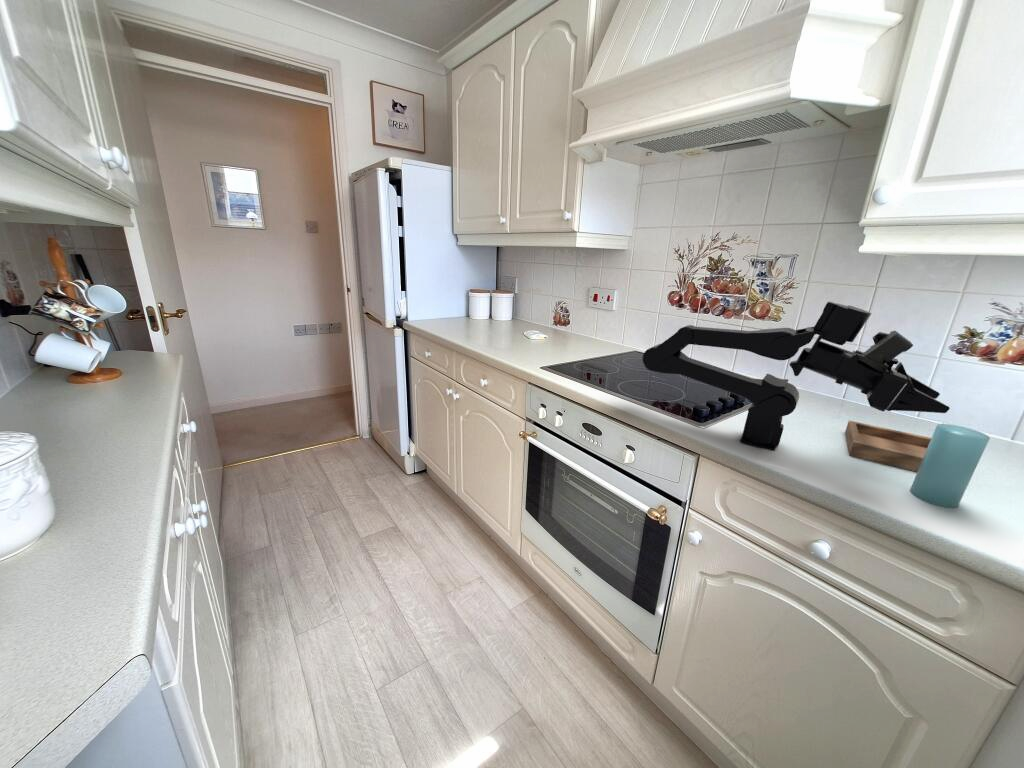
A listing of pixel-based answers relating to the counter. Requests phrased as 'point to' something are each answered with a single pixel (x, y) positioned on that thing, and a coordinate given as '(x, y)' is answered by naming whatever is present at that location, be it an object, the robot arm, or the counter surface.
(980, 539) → the counter surface
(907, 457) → the tray
